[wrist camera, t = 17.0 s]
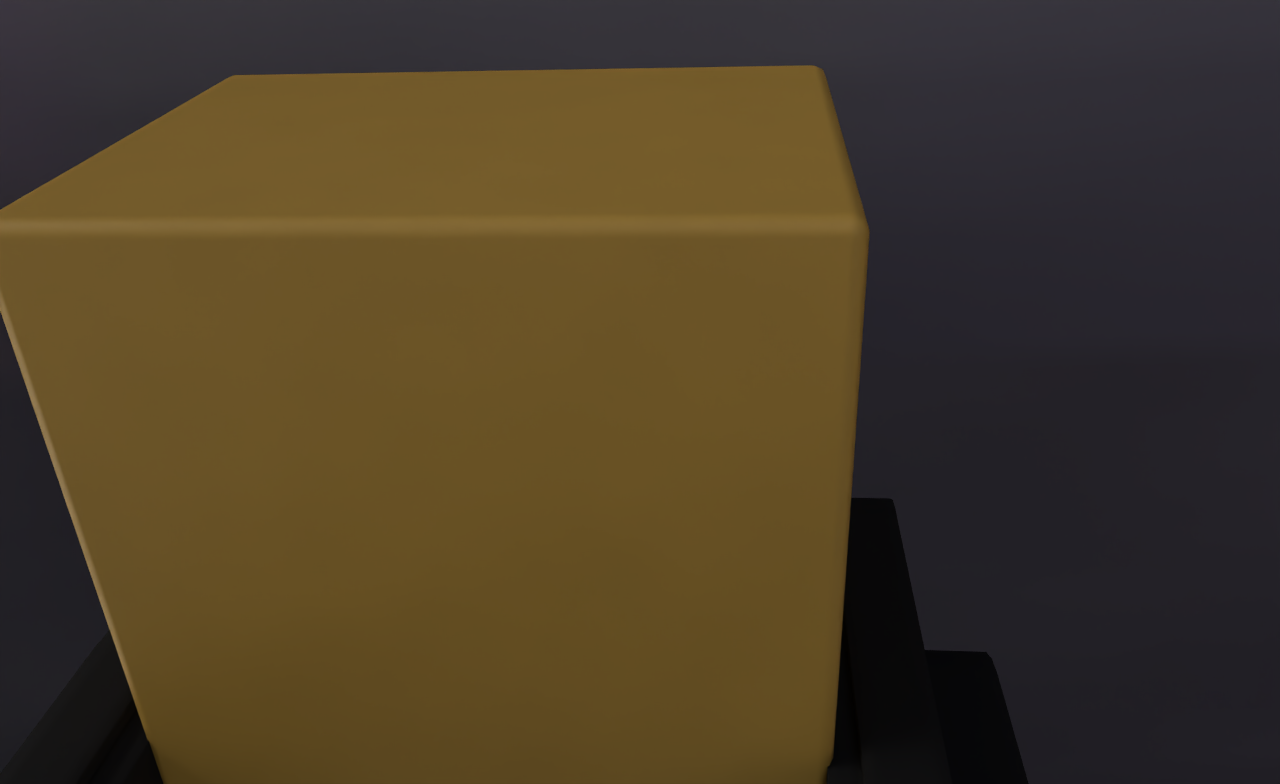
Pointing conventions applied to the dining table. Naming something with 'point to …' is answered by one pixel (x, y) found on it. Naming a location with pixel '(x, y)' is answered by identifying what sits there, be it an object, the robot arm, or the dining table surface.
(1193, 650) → the dining table surface
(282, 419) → the yellow rectangular block
